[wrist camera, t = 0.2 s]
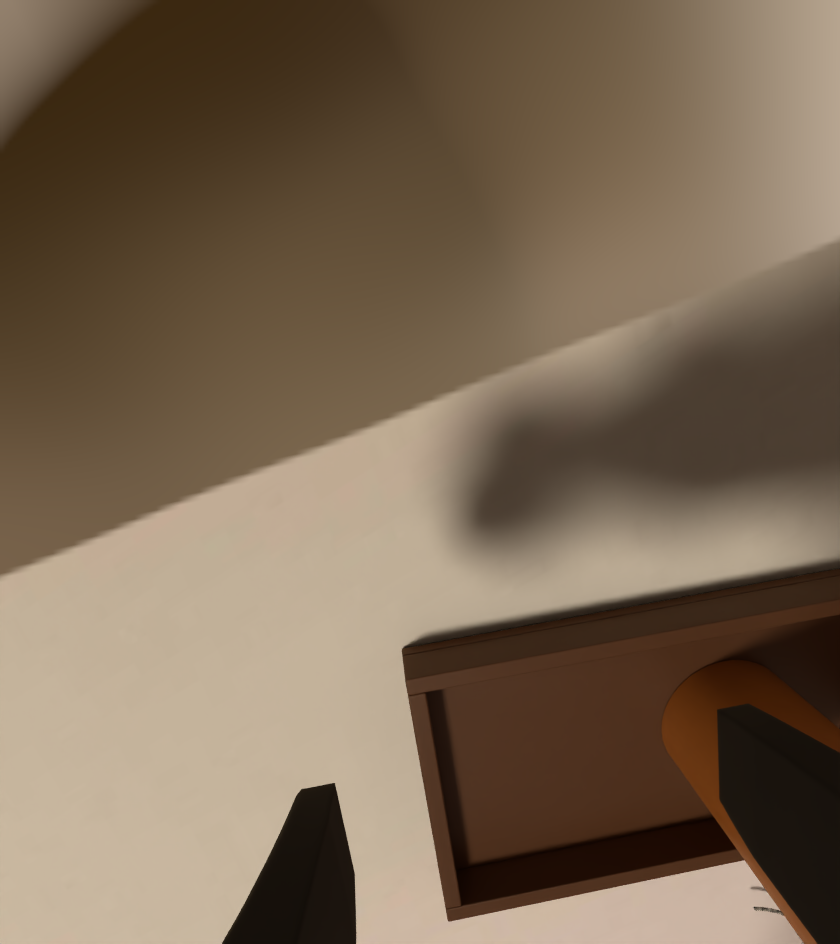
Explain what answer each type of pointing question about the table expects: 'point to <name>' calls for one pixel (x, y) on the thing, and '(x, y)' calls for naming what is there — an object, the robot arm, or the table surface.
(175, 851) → the table surface
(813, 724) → the amber bottle middle
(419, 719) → the tray
